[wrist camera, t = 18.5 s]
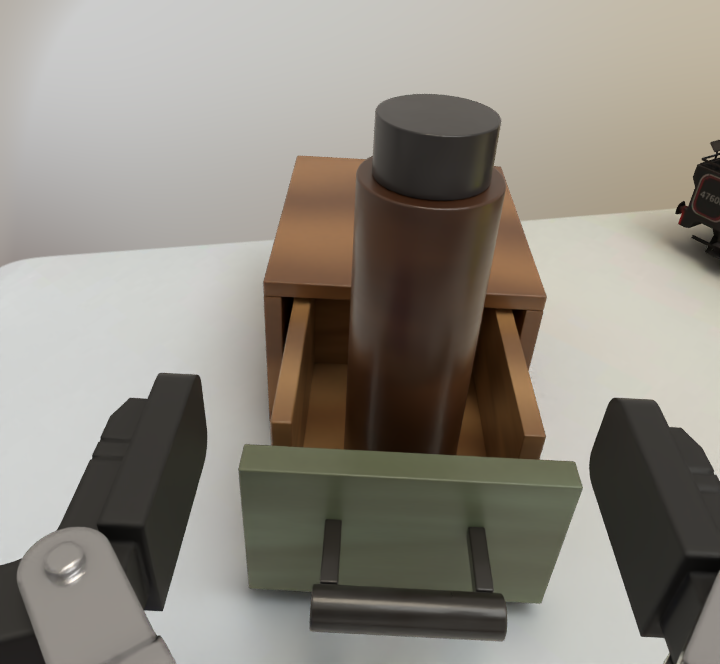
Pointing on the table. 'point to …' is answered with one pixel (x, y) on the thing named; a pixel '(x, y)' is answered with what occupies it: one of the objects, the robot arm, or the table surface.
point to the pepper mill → (420, 271)
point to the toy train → (705, 201)
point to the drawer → (404, 497)
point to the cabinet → (335, 249)
